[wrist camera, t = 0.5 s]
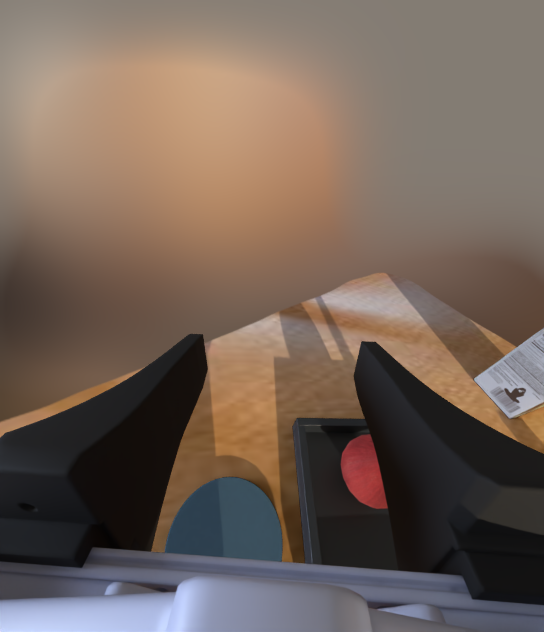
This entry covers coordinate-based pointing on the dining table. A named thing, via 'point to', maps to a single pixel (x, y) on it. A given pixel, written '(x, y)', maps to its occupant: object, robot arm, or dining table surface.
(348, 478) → the onion
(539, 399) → the coffee box
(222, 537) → the mat
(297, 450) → the tray
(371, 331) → the dining table surface
